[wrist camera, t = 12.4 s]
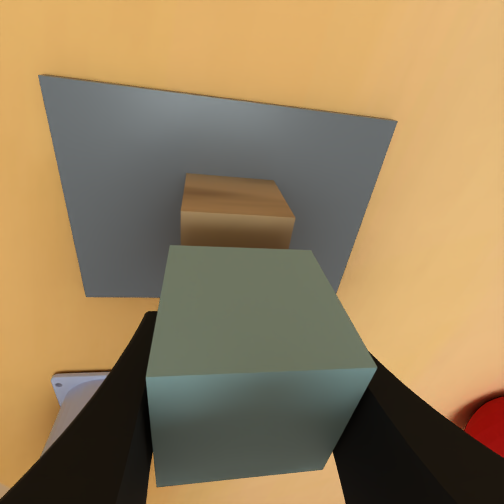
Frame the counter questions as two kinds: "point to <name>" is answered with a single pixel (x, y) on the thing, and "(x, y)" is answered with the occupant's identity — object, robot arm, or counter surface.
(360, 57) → the counter surface
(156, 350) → the teal block
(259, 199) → the brown wooden cube
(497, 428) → the tomato
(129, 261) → the baseplate
